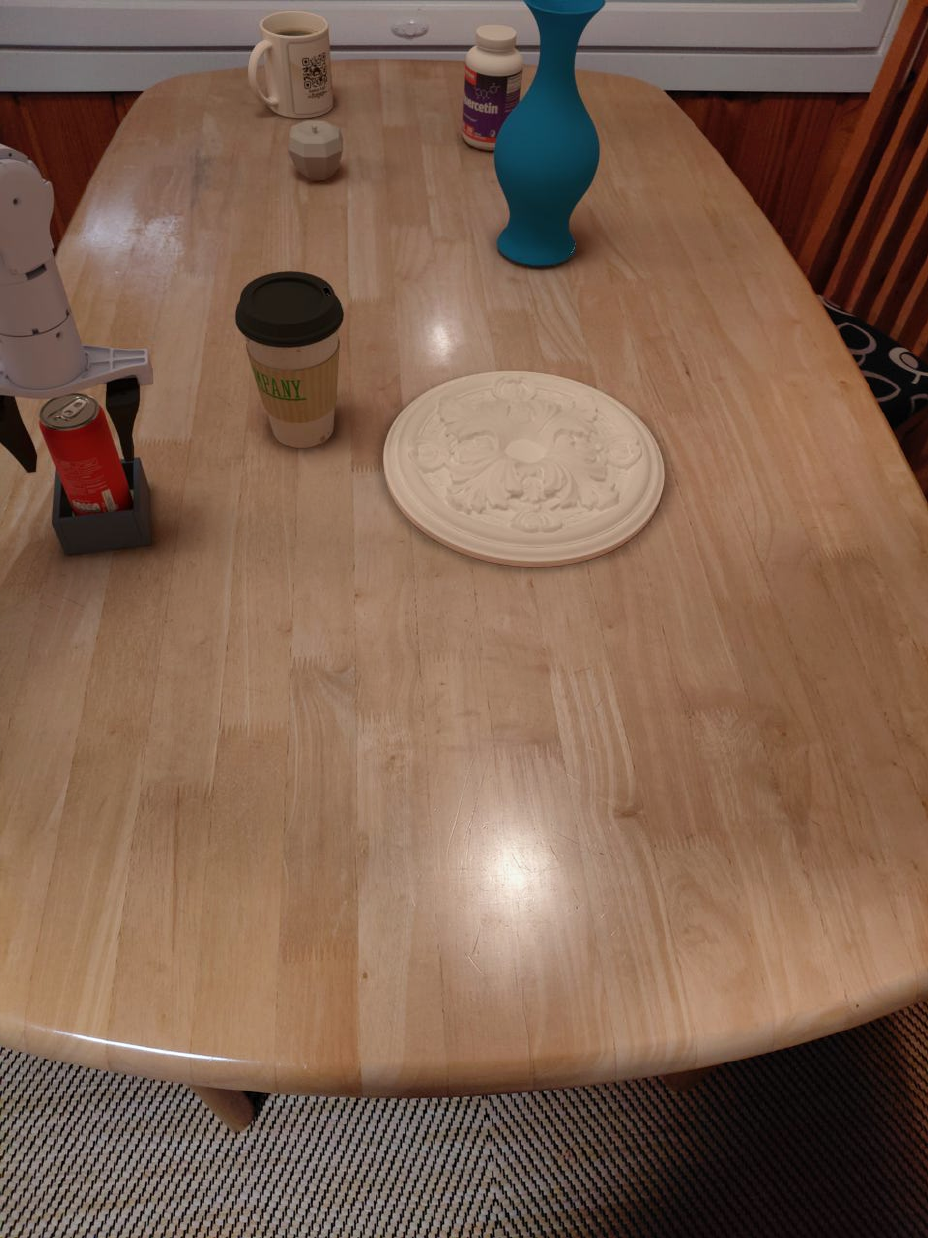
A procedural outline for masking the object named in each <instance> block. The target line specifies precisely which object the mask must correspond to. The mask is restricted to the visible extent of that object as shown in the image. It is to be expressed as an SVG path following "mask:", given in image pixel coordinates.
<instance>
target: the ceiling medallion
mask: <svg viewBox="0 0 928 1238" xmlns="http://www.w3.org/2000/svg"><path fill="white" fill-rule="evenodd" d="M382 458H383V459H382V461H383V474H384V475H383V476H384V479H385V483H386V486H387V489H388V491H389V494H390V496H391V498H392V500H393V501H394V503H395V504H396V506H397V507H398V509H399V510H400V511H401V512H402V514H403V515H404V516H405V517H406V518H407V519H408V520H409V522H410V523H411V524H413V525H414V526H415V527H416V528H417V529H418V530H420V531H421V532H422V533H424V534H425V535H426V536H428V537H429V538H431V539H432V540H434V541H435V542H437V543H439V544H441V545H442V546H444V547H446V548H448V549H450V550H453V551H455V552H457V553H460V554H462V555H465V556H467V557H471V558H473V559H477V560H480V561H484V562H489V563H492V564H498V565H504V566H509V567H510V566H511V567H522V568H549V567H551V568H552V567H560V566H568V565H573V564H577V563H582V562H586V561H588V560H592V559H595V558H598V557H601V556H603V555H606V554H608V553H610V552H611V551H614V550H617V549H618V548H620V547H621V546H623V545H624V544H626V543H627V542H629V541H630V540H632V539H633V538H634V537H635V536H636V535H638V534H639V533H640V532H641V531H642V530H643V529H644V527H645V526H646V525H648V523H649V522H650V521H651V519H652V517H653V516H654V514H655V513H656V511H657V508H658V506H659V504H660V501H661V499H662V498H661V497H662V495H663V491H664V486H665V480H666V479H665V478H666V477H665V464H664V460H663V455H662V452H661V449H660V446H659V444H658V442H657V440H656V439H655V436H654V435H653V434H652V432H651V430H650V429H649V428H648V427H647V426H646V424H645V423H644V422H643V421H642V419H640V417H638V416H637V414H635V413H634V412H633V411H632V410H631V409H629V408H628V407H627V406H626V405H624V404H623V403H622V402H620V401H618V400H617V399H616V398H614V397H612V396H610V395H609V394H608V393H607V394H606V393H605V392H603V391H601V390H599V389H597V388H595V387H593V386H590V385H588V384H585V383H582V382H580V381H578V380H574V379H571V378H567V377H564V376H560V375H554V374H550V373H544V372H538V371H537V372H535V371H529V370H527V371H525V370H496V371H487V372H480V373H479V372H478V373H475V374H469V375H465V376H461V377H458V378H454V379H452V380H448V381H446V382H444V383H443V382H442V383H441V384H438V385H437V386H434V387H432V388H431V389H429V390H427V391H426V392H424V393H422V394H421V395H418V397H416V398H415V399H414V400H413V401H411V402H410V403H409V404H408V405H407V406H406V407H404V409H403V410H401V412H400V413H399V414H398V416H397V417H396V418H395V420H394V422H393V423H392V425H391V426H390V428H389V431H388V432H387V435H386V438H385V442H384V446H383V456H382Z"/></svg>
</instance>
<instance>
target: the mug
mask: <svg viewBox="0 0 928 1238" xmlns="http://www.w3.org/2000/svg"><path fill="white" fill-rule="evenodd" d="M259 33H260V42H258V43H257V44H256V45H255V47H254V48H253V50H252V51H251V53H250V57H249V61H248V69H247V70H248V72H247V77H248V83H249V86H250V89H251V91H252V94H253V95H254V96H255V99H256V100H258V101H259V102H261V103H263V104H264V105H266V106H268V107H269V109H270V110H271V111H272V112H273V113H275V114H276V115H280V116H281V117H286V118H290V119H312V118H317V117H321V116H323V115H325V114H327V113H329V112H330V111H332V109H333V107H334V89H333V73H332V58H331V42H330V27H329V22H328V20H327V19H326V18H324V17H323V16H322V15H319V14H316V13H313V12H309V11H299V10H288V11H279V12H275V13H271V14H269V15H266V16H265V17H263V18H262V19H260V22H259ZM261 59H263V69H264V77H265V85H266V93H267V97H266V96H265V95H264V94H263V93H262V91H261V89H260V87H259V81H258V68H259V63H260V61H261ZM332 100H333V101H332Z"/></svg>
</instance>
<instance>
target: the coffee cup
mask: <svg viewBox="0 0 928 1238" xmlns="http://www.w3.org/2000/svg"><path fill="white" fill-rule="evenodd" d="M344 316H345V312H344V309H343V304H342V302H341V300H340V299H339V297H338V296H337V295H336V292H335V290H334V289H333V287H332V285H331V284H329V282H328V281H327V280H325V279H323V278H321V277H320V276H317V275H315V274H312V273H308V272H303V271H295V270H294V271H293V270H292V271H291V270H285V271H277V272H270V273H267V274H263V275H260V276H259V277H257V278H254V279H253V280H251V281H250V282H248V283H247V284H246V285H245V286H244V288H242V291H241V292H240V296H239V300H238V302H237V305H236V308H235V312H234V322H235V325H236V327H237V329H238V331H239V332H240V333H241V334H242V335H243V337H244V340H245V350H246V353H247V356H248V359H249V363H250V366H251V369H252V370H251V371H252V373H253V376H254V379H255V383H256V386H257V389H258V393H259V396H260V399H261V402H262V405H263V408H264V410H265V412H266V414H267V417H268V421H269V423H270V427H271V431H272V434H273V436H274V437H275V439H276V440H277V441H278V442H279V443H280V444H283V445H285V446H287V447H290V448H295V449H307V448H308V449H309V448H313V447H317V446H318V445H321V444H323V443H324V442H326V441H327V440H328V439H330V437H331V436H332V435H333V432H334V427H335V408H336V404H337V400H338V399H337V398H338V397H337V396H338V383H339V382H338V381H339V380H338V379H339V364H340V363H339V362H340V347H341V346H340V345H341V341H340V336H339V332H340V327H341V326H342V324H343V322H344V318H345V317H344Z"/></svg>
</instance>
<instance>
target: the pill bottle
mask: <svg viewBox="0 0 928 1238" xmlns="http://www.w3.org/2000/svg"><path fill="white" fill-rule="evenodd" d="M475 44H476V45H473V46H472V47H471V48H470V49H469V50H468V51H467V52H466V55H465V60H464V80H463V81H464V84H463V106H462V121H461V135H462V138H463V140H464V142H466V143H467V144H468V145H470V146H471V147H473V148H476V149H479V150H484V151H493V152H494V146H495V142H496V138H497V135H498V133H499V130H500V128H501V126H502V125H503V123H504V121H505V120H506V118H507V117H508V115H509V114H510V113H511V112H512V110H513V109H514V108H515V107H516V106H517V105H518V103H519V102H520V101H521V92H522V91H521V89H522V81H523V80H522V79H523V69H524V58H523V56H522V54H521V52H520V51H519V50H518V49H517V48H516V45H517V31H516V30H515V29H514V28H512V27H510V26H508V25H503V24H496V23H495V24H494V23H493V24H485V25H481V26H479V27H478V28H476V32H475ZM489 146H493V147H489Z"/></svg>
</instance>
